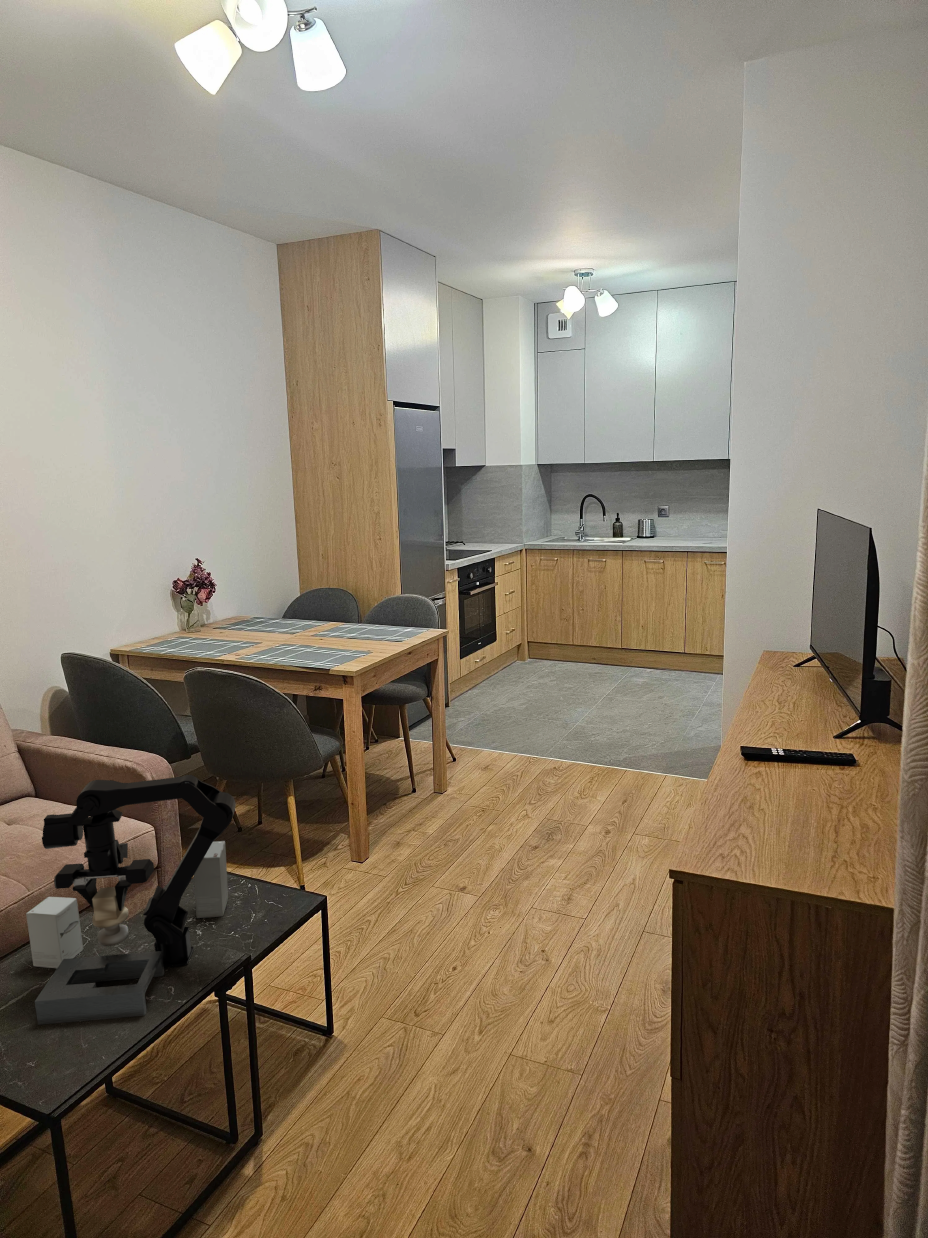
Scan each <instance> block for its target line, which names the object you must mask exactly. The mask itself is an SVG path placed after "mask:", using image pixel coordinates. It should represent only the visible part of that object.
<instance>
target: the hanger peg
mask: <svg viewBox="0 0 928 1238" xmlns="http://www.w3.org/2000/svg"><path fill="white" fill-rule="evenodd" d="M92 901H93V908H94V909H93V908H92V909H93V915H92V918H91V921H92V925H93V927H96V928H100V929H101V930H99V931H98V932H97V935H96V937H97V942H98V945H99V946H102V947H111V946H112V947H113V946H115V945H119V944H121V943H122V942H124V941H126V940H127V939H128V938H129V927H128V926H127V925H126V924H123V922H125V921H126V920H127V919H128V918H129V909H128V908H127V907H126V906H125V905H124V907H123V910H122V911H119V908H118V904H117V897H116V891H115V886H113V887H112V886H109V887H100V888H99V889H98V890H97V893H96V895H95V896H94V897H93V898H92Z"/></svg>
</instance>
